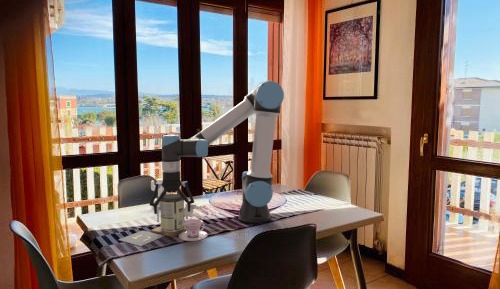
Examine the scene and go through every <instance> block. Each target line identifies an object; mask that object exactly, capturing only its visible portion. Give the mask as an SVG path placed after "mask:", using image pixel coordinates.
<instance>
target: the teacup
mask: <svg viewBox="0 0 500 289" xmlns="http://www.w3.org/2000/svg"><path fill="white" fill-rule="evenodd" d="M183 224H184V226H185V228H186V229H187V231H185V232H183V233H181V234H179V235H178V238H179V240H182V241H186V242H197V241H201V240H204V239H206V238H207V237H208V233H207V231H204V229H205V224H206V223H205V222H204V221H203V219H202V220H201V219H192V218H191V219H188V220H186V219H185V220H184V222H183ZM201 226H202V228H201ZM200 228H201V229H200Z"/></svg>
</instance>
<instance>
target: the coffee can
mask: <svg viewBox="0 0 500 289" xmlns="http://www.w3.org/2000/svg"><path fill="white" fill-rule="evenodd" d="M160 200H161V201H160V208H159V210H160V226H161V230H162V231H165V232H176V231H180V230H183V229H184V228H185V226H184V224H183V222H184V221H185V217H184V207H185V200H184V197H182V196H181V195H180V194H179V193H169V194H168V195H167V194H165V195H164V196H163V198H160Z"/></svg>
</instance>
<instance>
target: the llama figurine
mask: <svg viewBox="0 0 500 289" xmlns="http://www.w3.org/2000/svg"><path fill="white" fill-rule="evenodd" d="M194 210H200V211H201V212H203V213H204V214H206V216H207V215H209V211H207V210H204V209H203V208H202V206H199V205H198V204H196V203H192V204H190V212H188V218H192V217H195V218H199V219H202V220H203V219H204V221H206V220H207V217H206V216H203V215H199V214H195V213H194ZM184 218H186V206H185V205H184Z"/></svg>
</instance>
